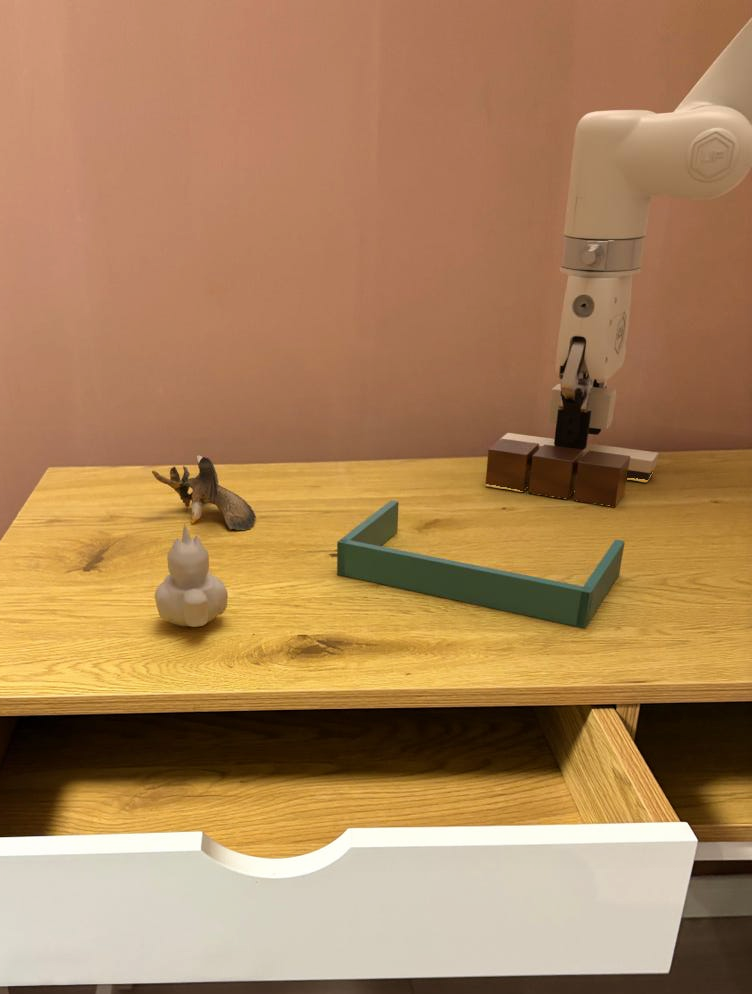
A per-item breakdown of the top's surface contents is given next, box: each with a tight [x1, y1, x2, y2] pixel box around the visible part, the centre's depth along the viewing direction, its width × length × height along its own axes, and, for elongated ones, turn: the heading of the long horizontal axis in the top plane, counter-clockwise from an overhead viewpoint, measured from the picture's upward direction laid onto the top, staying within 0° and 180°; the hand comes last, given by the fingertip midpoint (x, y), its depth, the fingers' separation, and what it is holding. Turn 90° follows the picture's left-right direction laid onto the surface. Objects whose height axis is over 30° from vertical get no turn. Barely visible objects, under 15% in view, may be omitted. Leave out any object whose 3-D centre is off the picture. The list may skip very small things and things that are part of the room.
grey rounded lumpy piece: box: [154, 523, 229, 628], centre depth 73 cm, size 5×7×8 cm
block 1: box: [485, 438, 539, 491], centre depth 99 cm, size 4×4×4 cm
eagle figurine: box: [151, 454, 257, 531], centre depth 93 cm, size 8×7×9 cm
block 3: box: [573, 451, 630, 507], centre depth 95 cm, size 4×4×4 cm
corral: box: [336, 500, 626, 629], centre depth 81 cm, size 21×11×3 cm, turn 60°
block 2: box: [528, 445, 584, 500], centre depth 97 cm, size 4×4×4 cm
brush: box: [500, 383, 659, 480], centre depth 102 cm, size 16×3×8 cm, turn 60°
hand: (577, 438), depth 102 cm, fingers open, 5 cm apart
